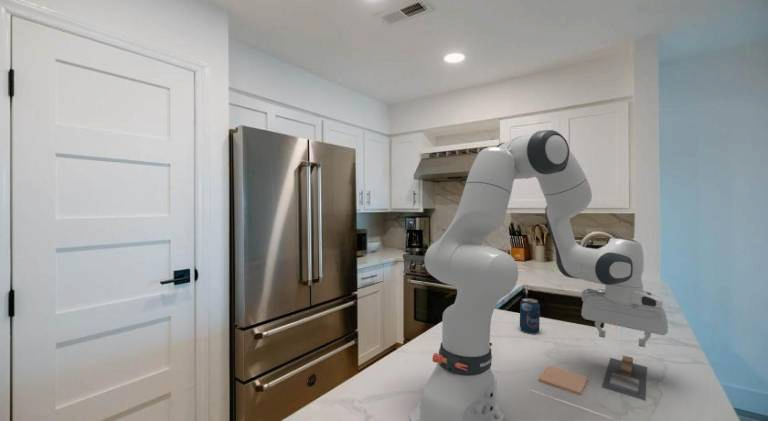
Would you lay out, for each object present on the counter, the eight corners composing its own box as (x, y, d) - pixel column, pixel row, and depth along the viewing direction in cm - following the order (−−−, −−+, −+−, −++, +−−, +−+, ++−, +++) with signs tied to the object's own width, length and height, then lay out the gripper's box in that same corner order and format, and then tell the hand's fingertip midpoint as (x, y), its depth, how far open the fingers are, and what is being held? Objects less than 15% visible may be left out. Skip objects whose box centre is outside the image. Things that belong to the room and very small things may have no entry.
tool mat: (645, 402, 81) (645, 400, 81) (601, 389, 86) (601, 387, 86) (647, 369, 98) (647, 367, 98) (610, 359, 103) (610, 357, 103)
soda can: (529, 335, 122) (530, 303, 122) (515, 329, 128) (516, 298, 128) (543, 333, 125) (544, 301, 124) (529, 326, 131) (529, 296, 131)
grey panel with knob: (638, 394, 83) (638, 384, 83) (609, 385, 87) (609, 376, 87) (640, 367, 97) (640, 359, 97) (615, 361, 101) (615, 353, 101)
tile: (588, 383, 90) (580, 399, 83) (548, 371, 97) (538, 385, 89) (588, 377, 90) (580, 392, 83) (548, 365, 97) (538, 378, 89)
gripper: (579, 289, 100) (578, 334, 100) (669, 303, 86) (667, 355, 87) (583, 285, 104) (582, 329, 105) (668, 298, 91) (666, 348, 91)
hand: (621, 341), depth 95 cm, fingers open, 8 cm apart
